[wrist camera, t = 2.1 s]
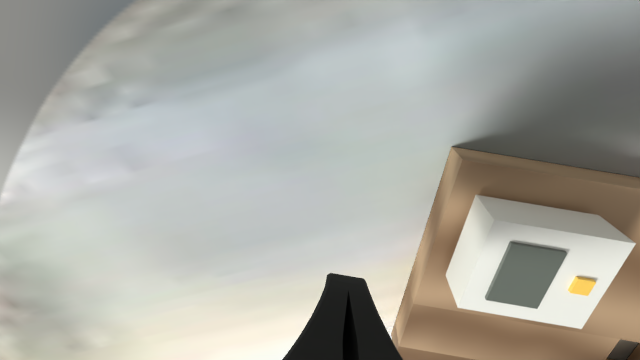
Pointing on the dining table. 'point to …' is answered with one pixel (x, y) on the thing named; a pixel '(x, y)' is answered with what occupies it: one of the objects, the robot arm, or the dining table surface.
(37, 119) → the dining table surface
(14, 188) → the dining table surface
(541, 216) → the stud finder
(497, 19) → the dining table surface
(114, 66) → the dining table surface
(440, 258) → the board
